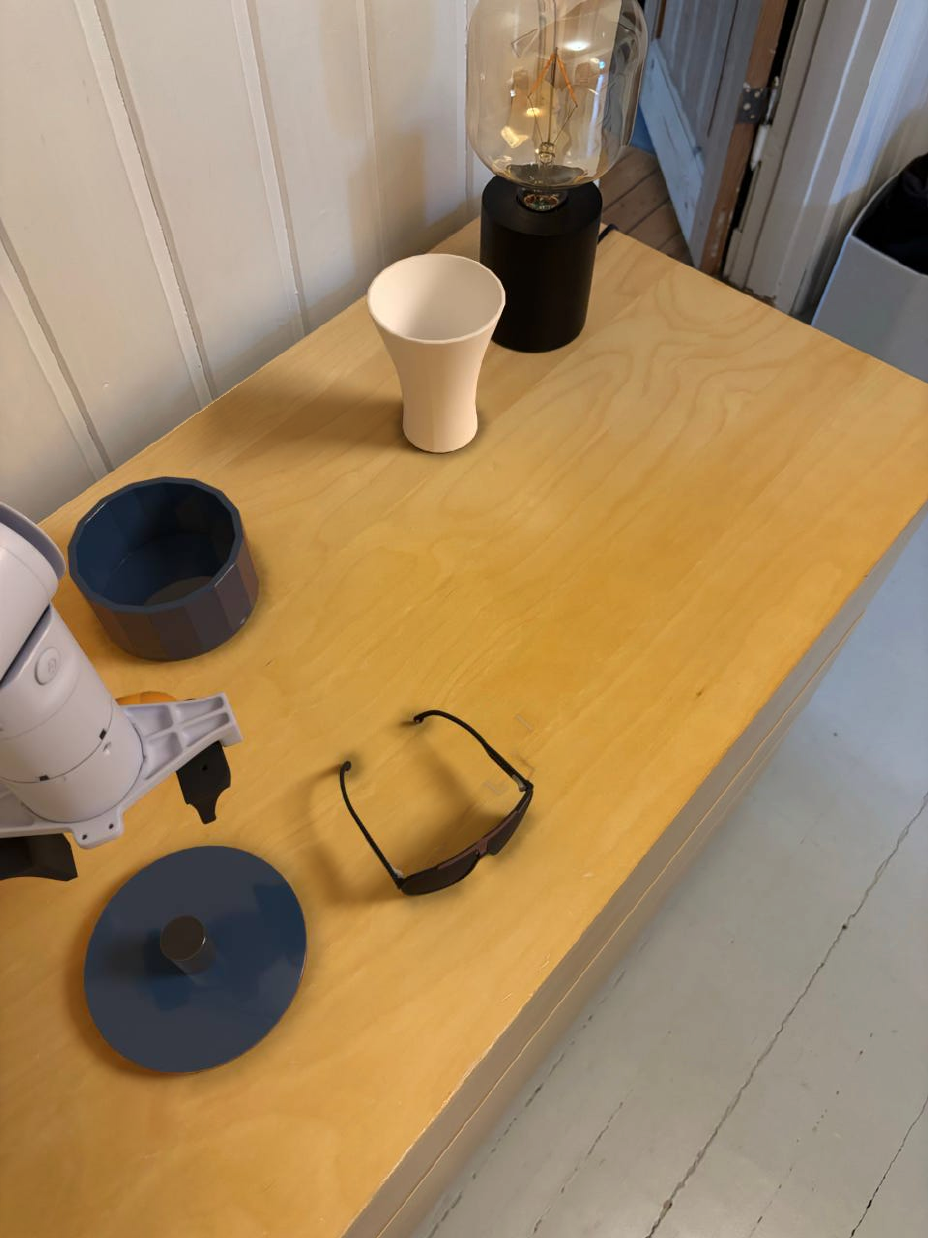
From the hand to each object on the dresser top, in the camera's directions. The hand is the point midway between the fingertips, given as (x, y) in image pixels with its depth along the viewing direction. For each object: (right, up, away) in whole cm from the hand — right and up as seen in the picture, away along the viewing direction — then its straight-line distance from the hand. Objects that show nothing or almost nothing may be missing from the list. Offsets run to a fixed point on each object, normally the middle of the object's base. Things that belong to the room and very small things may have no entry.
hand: (138, 834), depth 51 cm
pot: (-4, +14, +20) cm, 25 cm away
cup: (+16, +29, +30) cm, 45 cm away
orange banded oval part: (-4, +3, +13) cm, 15 cm away
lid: (+2, -8, +5) cm, 10 cm away
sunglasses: (+16, -1, +11) cm, 19 cm away
